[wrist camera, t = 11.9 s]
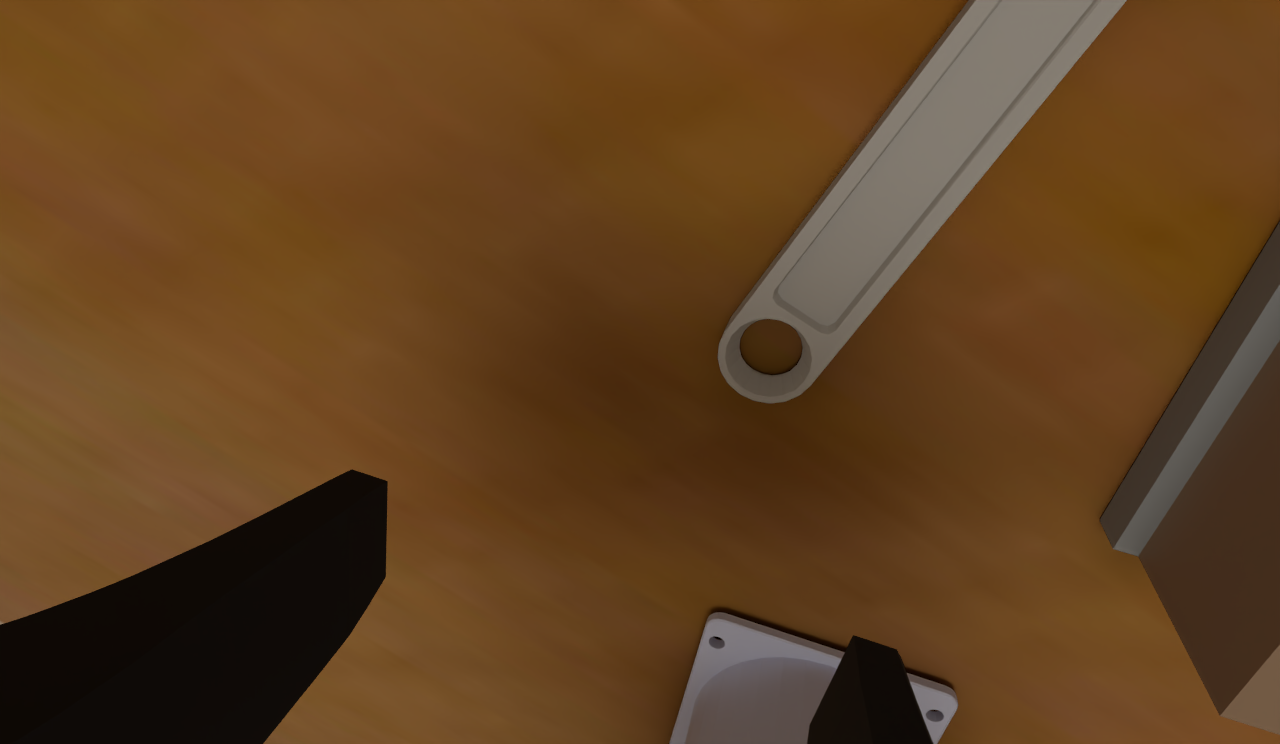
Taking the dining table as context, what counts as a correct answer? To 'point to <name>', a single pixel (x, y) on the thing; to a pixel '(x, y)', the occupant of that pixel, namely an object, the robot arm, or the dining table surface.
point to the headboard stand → (1219, 504)
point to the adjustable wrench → (909, 178)
